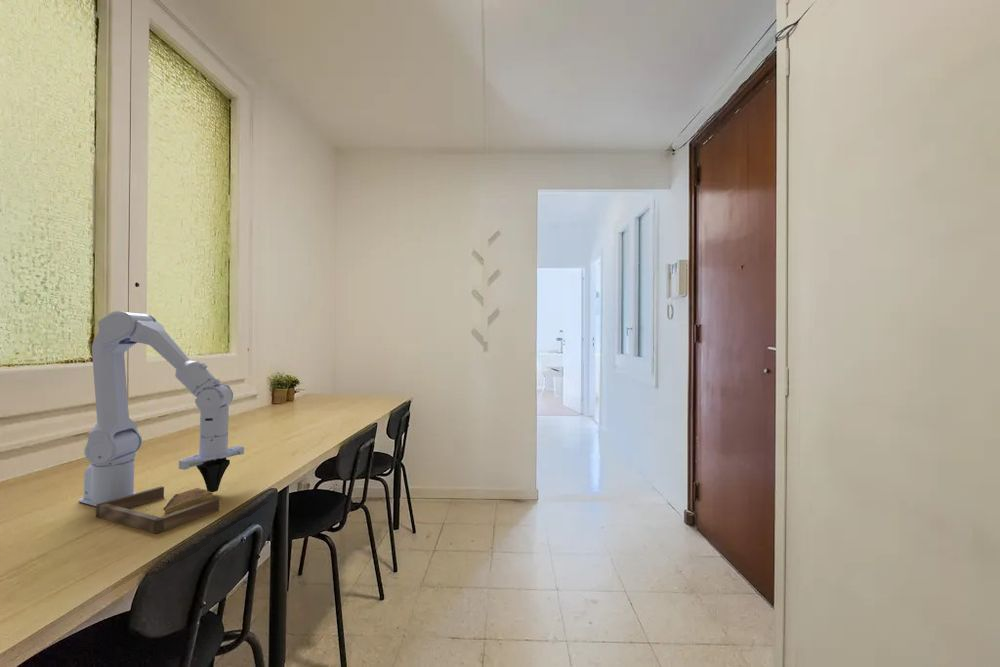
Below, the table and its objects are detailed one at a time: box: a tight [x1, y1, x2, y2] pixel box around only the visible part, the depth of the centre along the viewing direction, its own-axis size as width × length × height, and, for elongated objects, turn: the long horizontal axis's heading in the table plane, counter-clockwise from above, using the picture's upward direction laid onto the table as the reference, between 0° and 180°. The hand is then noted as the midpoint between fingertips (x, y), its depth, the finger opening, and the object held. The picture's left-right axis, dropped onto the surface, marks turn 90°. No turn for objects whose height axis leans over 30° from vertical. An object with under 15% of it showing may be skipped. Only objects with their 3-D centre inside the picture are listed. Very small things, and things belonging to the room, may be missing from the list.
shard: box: [162, 487, 214, 515], centre depth 96 cm, size 11×8×2 cm
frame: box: [95, 485, 220, 535], centre depth 90 cm, size 20×12×2 cm, turn 69°
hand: (212, 491), depth 101 cm, fingers closed
